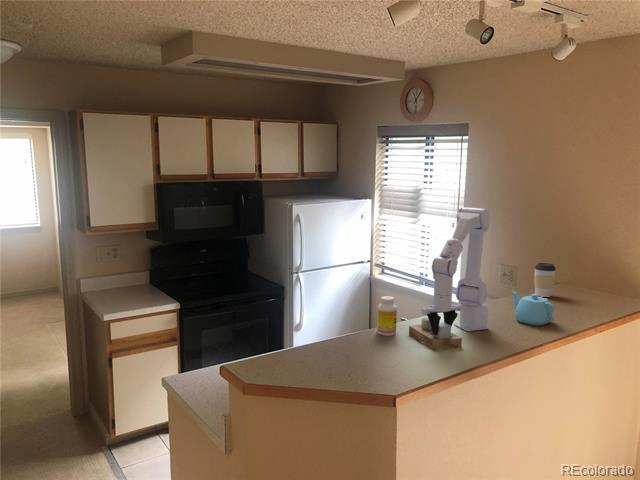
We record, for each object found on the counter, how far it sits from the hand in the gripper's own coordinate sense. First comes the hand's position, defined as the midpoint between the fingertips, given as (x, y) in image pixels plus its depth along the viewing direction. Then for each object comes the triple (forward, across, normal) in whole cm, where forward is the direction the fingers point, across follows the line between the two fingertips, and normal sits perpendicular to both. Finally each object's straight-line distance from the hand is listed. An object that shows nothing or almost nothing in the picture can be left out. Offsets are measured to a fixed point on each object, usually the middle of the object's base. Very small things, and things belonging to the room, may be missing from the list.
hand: (441, 333), depth 168 cm
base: (+4, 0, -4) cm, 5 cm away
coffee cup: (+4, -80, -38) cm, 89 cm away
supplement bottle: (+4, +12, -15) cm, 20 cm away
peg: (+4, 0, +1) cm, 4 cm away
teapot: (+4, -47, -10) cm, 48 cm away
